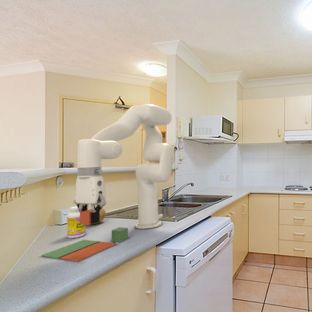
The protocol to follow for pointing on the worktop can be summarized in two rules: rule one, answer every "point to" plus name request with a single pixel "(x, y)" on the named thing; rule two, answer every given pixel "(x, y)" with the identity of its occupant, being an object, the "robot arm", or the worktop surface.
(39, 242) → the worktop surface
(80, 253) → the sorting mat
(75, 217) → the supplement bottle
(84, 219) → the terracotta block
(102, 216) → the potato
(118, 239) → the sage block
